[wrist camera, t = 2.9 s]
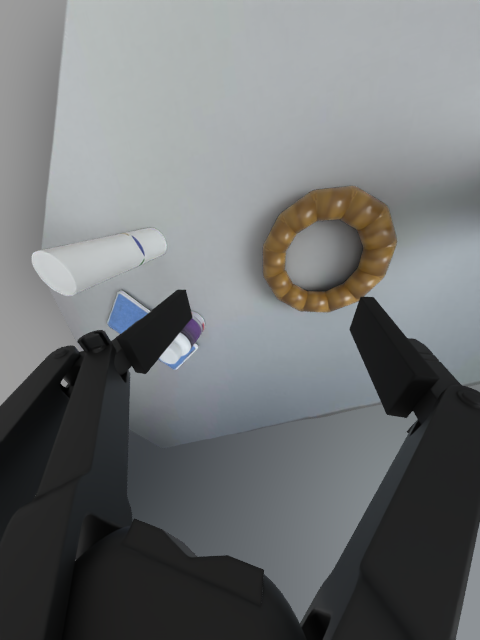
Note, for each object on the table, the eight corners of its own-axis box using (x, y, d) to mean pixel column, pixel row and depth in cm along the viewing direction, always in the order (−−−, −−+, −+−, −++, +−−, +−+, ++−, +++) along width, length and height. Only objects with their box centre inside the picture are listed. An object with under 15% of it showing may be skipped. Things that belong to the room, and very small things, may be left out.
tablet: (201, 344, 39) (198, 348, 38) (177, 368, 46) (174, 372, 45) (122, 287, 35) (117, 289, 34) (109, 322, 42) (105, 325, 41)
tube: (141, 249, 30) (40, 284, 18) (142, 222, 27) (24, 242, 15) (165, 260, 30) (80, 302, 18) (168, 234, 27) (71, 264, 15)
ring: (410, 179, 18) (428, 176, 16) (366, 307, 26) (374, 318, 24) (263, 196, 22) (260, 195, 19) (265, 304, 30) (262, 313, 28)
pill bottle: (189, 304, 34) (158, 336, 26) (210, 322, 35) (187, 358, 27) (176, 319, 37) (145, 352, 29) (196, 336, 38) (172, 371, 30)
